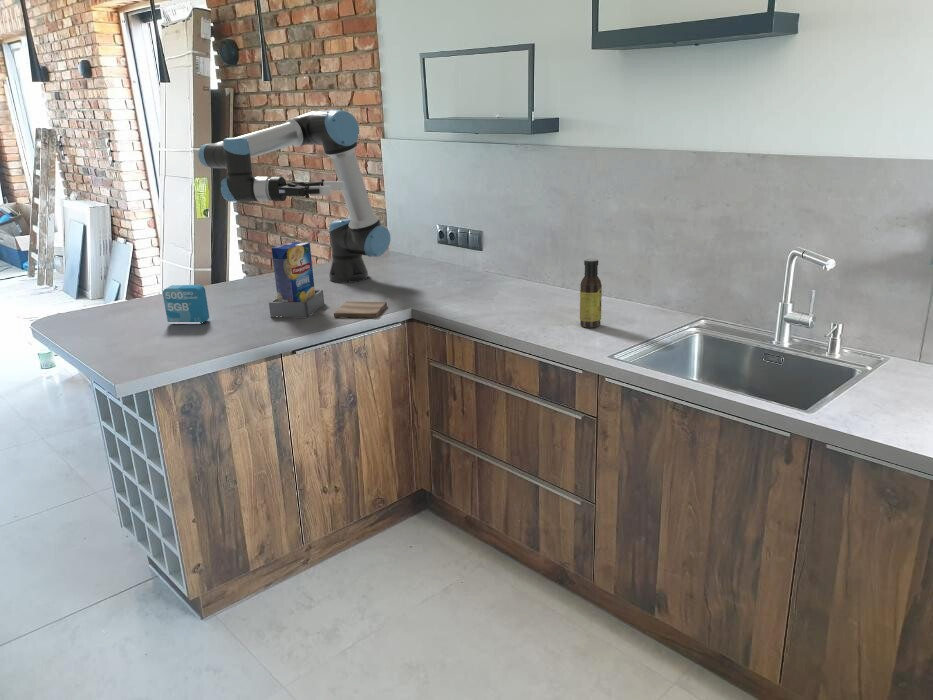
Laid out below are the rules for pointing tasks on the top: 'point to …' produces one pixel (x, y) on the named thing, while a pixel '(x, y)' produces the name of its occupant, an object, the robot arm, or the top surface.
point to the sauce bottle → (590, 295)
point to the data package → (186, 303)
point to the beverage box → (293, 272)
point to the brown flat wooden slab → (360, 309)
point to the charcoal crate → (296, 306)
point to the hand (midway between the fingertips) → (337, 188)
